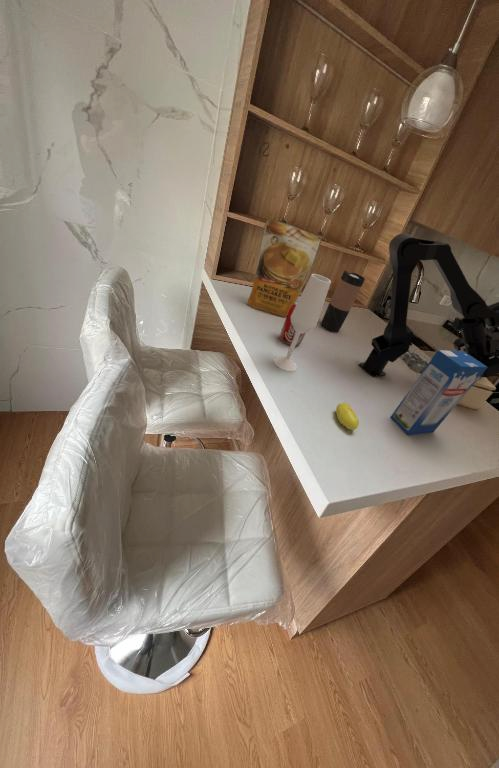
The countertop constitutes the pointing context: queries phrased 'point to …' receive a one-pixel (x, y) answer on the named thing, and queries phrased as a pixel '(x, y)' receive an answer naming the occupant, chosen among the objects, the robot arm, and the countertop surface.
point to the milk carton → (437, 391)
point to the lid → (484, 383)
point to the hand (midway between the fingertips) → (482, 376)
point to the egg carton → (414, 358)
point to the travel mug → (342, 301)
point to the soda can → (290, 328)
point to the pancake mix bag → (282, 267)
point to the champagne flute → (305, 315)
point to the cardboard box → (475, 397)
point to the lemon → (347, 416)
